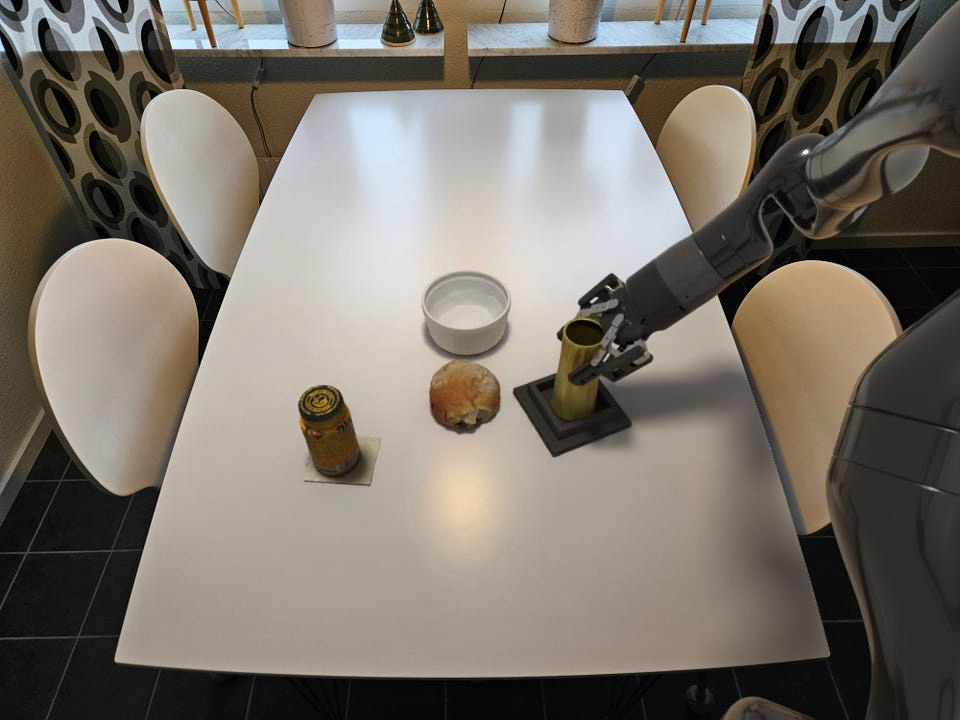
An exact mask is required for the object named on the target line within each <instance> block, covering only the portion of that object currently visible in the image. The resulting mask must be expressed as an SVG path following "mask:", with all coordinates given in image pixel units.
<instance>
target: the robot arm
mask: <svg viewBox="0 0 960 720" xmlns="http://www.w3.org/2000/svg"><path fill="white" fill-rule="evenodd" d="M930 148H932V149H934V150H937V151H938V152H940V153H943V154H944V155H947V156H948V157H952V158H956V159H960V0H958V1H956V2H955V3H954V4H953V5H952V6H951V7H950V8H948V10H946V12H945V13H944V14H943V15H942V16H941V17H940V18H938V20H937V21H936V22H935V23H934V24H933V25H932V26H931V28H930V29H929V30H928V31H927V32H925V34H924V36H923V37H922V38H921V39H920V40H919V41H918V42H917V43H916V45H915V46H914V47H913V48H912V49H911V50H910V52H909V53H908V54H907V55H906V56H905V57H904V58H903V60H901V62H900V63H899V64H898V65H897V67H895V69H894V70H893V71H892V72H891V74H890V75H889V76H888V77H887V79H886V80H885V81H884V82H883V83H882V85H881V86H880V87H879V88H878V89H877V91H876V92H875V93H874V95H873V96H872V97H871V98H870V99H869V100H868V102H867V103H866V104H865V106H864V107H863V108H862V109H861V110H860V111H859V112H858V113H857V114H856V115H855V116H854V117H853V118H851V119H850V120H849V121H847V122H846V123H844V124H843V125H841V126H840V127H839V128H837V129H836V130H834V131H833V132H832V133H830V134H829V135H827V136H824V135H822V134H820V133H815V132H812V133H811V132H809V133H804V134H800V135H797V136H794V137H793V138H791V139H789V140H788V141H786V142H784V144H782V145H781V146H780V147H779V148H778V149H777V150H776V152H774V154H773V155H772V156H771V157H770V159H769V160H768V161H767V162H766V164H765V165H764V166H763V167H762V169H761V170H760V171H759V172H758V173H757V175H756V176H755V177H754V178H753V180H752V181H751V182H750V183H749V184H748V185H747V186H746V188H745V189H744V190H743V191H742V192H741V193H740V195H738V197H736V198H735V200H733V201H732V202H731V203H730V204H729V205H728V206H727V207H725V208H724V209H723V210H721V211H720V212H719V213H718V214H717V215H715V216H713V218H711V219H710V220H709V221H707V222H705V223H704V224H703V225H702V226H700V227H698V229H696V230H695V231H693V233H691V234H689V235H688V236H686V237H684V238H681V240H678V241H677V242H676V243H674V244H671V246H669V247H668V248H667V249H665V250H664V251H662V252H661V253H660V254H657V256H656V257H654V258H653V259H652V260H650V261H649V262H647V263H646V264H645V265H643V266H642V267H641V268H639V269H638V270H637V271H635V272H634V273H632V274H631V275H630V276H628V277H627V278H626V280H625V282H624V281H623V280H622V279H620V277H618V276H617V275H616V274H615V273H613V272H611V273H609V274H608V275H606V276H605V277H604V278H602V279H601V280H600V281H599V282H598V283H597V284H595V286H593V287H592V288H591V289H590V290H588V291H587V292H586V293H584V294H583V295H582V296H581V297H580V298H579V299H578V301H577V305H578V307H579V310H578V312H577V313H576V316H575V317H574V318H573V319H575V318H590V319H593V320H596V321H598V322H599V323H600V324H602V325H603V327H604V334H605V336H604V337H603V339H602V340H601V342H600V344H599V346H600V349H599V350H598V351H597V353H596V354H595V356H594V357H593V359H592V360H591V361H590V360H588V361H586V362H585V363H584V364H582V365H581V366H579V367H578V368H576V369H575V370H573V371H572V372H570V373H569V374H568V375H567V377H568V381H569V382H571V383H572V384H574V385H575V386H584V385H586V384H587V383H589V382H590V381H592V380H593V379H595V378H596V377H598V376H599V377H600V376H602V377H604V378H605V379H607V380H608V381H609V382H611V383H614V384H615V383H617V382H619V381H620V380H623V379H624V378H626V377H628V376H630V375H631V374H633V373H634V372H636V371H639V370H640V369H642V368H644V367H646V366H647V365H649V364H651V363H652V362H653V361H654V355H653V354H652V353H650V352H649V350H648V346H647V343H646V342H647V341H648V340H649V338H650V337H651V336H652V335H653V334H654V333H656V332H661V331H663V332H664V331H666V330H667V329H669V328H671V327H672V326H674V325H675V324H677V323H678V322H680V321H681V320H683V319H684V318H686V317H688V316H689V315H691V314H692V313H693V312H695V311H697V310H698V309H699V308H701V307H702V306H704V305H705V304H708V302H710V301H711V300H713V299H715V298H716V297H717V296H718V295H719V294H720V293H721V292H722V291H724V290H725V289H726V288H727V287H728V286H730V285H731V284H732V283H735V282H736V281H737V280H738V279H740V278H742V277H743V276H745V275H746V274H748V273H749V272H750V271H752V270H753V269H755V268H757V267H758V266H760V265H761V264H763V263H764V262H766V261H767V260H768V259H770V257H771V256H772V254H773V253H774V244H773V240H772V237H771V236H770V234H769V232H768V229H767V227H766V225H765V223H764V219H763V207H764V205H765V204H766V202H767V201H768V200H769V199H770V198H772V199H773V200H774V202H775V203H776V204H777V205H778V206H779V208H780V209H781V211H782V212H783V213H784V215H785V216H786V217H787V218H788V220H789V221H790V222H791V224H792V225H793V226H794V228H795V229H796V230H797V231H798V232H799V233H800V234H801V235H803V236H804V237H807V238H809V239H813V240H822V239H828V238H831V237H834V236H836V235H838V234H839V233H841V232H843V231H844V230H846V229H847V228H848V227H850V226H851V225H852V224H854V223H855V222H856V221H857V220H858V218H860V216H861V215H862V214H863V213H864V212H865V211H866V210H867V208H868V207H869V205H870V204H873V203H875V202H878V201H881V200H883V199H886V198H888V197H890V196H893V195H895V194H896V193H898V192H900V191H901V190H903V189H904V188H906V187H907V186H908V185H910V184H911V183H912V182H913V181H914V180H915V179H916V177H918V175H919V174H920V172H921V171H922V170H923V168H924V166H925V164H926V162H927V160H928V158H929V153H930ZM594 299H595V300H594ZM593 300H594V301H593ZM565 325H566V324H564V325H562V326H561V328H559V330H558V331H557V332H556V338H557V340H559V342H561V343H562V338H563V329H564V326H565ZM613 344H614V345H616V346H618V347H616V348H615V347H613ZM847 404H848V405H849V406H846V409H845V413H844V417H843V419H842V422H841V426H840V428H839V432H838V435H837V439H836V442H835V444H834V448H833V451H832V455H831V458H830V461H829V465H828V468H827V471H826V476H825V477H826V478H825V498H826V499H825V500H826V505H827V511H828V514H829V519H830V523H831V526H832V529H833V533H834V536H835V539H836V543H837V546H838V549H839V551H840V555H841V558H842V560H843V564H844V566H845V568H846V572H847V574H848V578H849V580H850V583H851V586H852V589H853V591H854V592H853V593H854V595H855V597H856V601H857V603H858V605H859V610H860V613H861V616H862V619H863V623H864V628H865V632H866V637H867V642H868V647H869V654H870V660H871V680H870V681H871V684H870V693H869V700H868V701H869V702H868V707H867V710H866V716H865V718H864V720H960V287H958V289H956V290H955V291H954V292H952V293H951V294H950V295H949V296H948V297H946V298H945V299H944V300H942V301H941V302H940V303H939V304H937V305H936V306H934V307H933V308H932V309H931V310H929V311H928V312H927V313H926V314H924V315H922V316H921V317H920V318H919V319H918V320H917V321H915V322H914V323H913V324H912V325H910V326H909V327H908V328H906V329H905V330H904V331H902V332H901V334H899V335H898V336H897V337H896V338H895V339H893V340H892V341H891V342H890V343H889V344H887V346H885V347H884V348H883V349H882V350H881V351H880V352H878V354H877V355H876V356H875V357H873V359H872V360H871V361H870V362H869V363H868V364H867V366H865V368H864V369H863V371H862V372H861V374H859V376H858V377H857V380H856V382H855V384H854V386H853V389H852V391H851V394H850V397H849V400H848V402H847ZM719 720H817V718H814V717H811V716H810V715H809V716H808V715H806V714H803V713H801V712H798V711H796V710H794V709H791V708H789V707H787V706H784V705H781V704H780V703H776V702H774V701H771V700H770V699H769V700H768V699H766V698H763V697H759V696H746V697H743V698H740V699H738V700H737V701H735V702H734V703H732V704H731V705H730V707H729V708H728V709H727V710H726V711H725V712H724V714H723V715H722V716H721V718H720V719H719Z"/></svg>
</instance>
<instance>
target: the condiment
mask: <svg viewBox="0 0 960 720" xmlns="http://www.w3.org/2000/svg"><path fill="white" fill-rule="evenodd" d="M297 402H298V403H297V409H298V412H299V425H300V428H301V432H302V435H303V437H304V439H305V443H306V446H307V450H308V452H309V455H310V460H309V464H308V467H307V469H306V473H305V476H304V481H308V482H309V481H310V482H317V483H318V482H322V483H333V484H334V483H337V484H340V483H342V484H344V483H345V484H353V485H371V481H372V478H373V474H374V469H375V466H376V462H377V457H378V452H379V449H380V444H381V438H382V437H377V436H361V435H357V434H356V431H355V427H354V422H353V418H352V414H351V411H350V408H349V406H348V404H347V403H346V402H345V399H344V396H343V394H342V392H341V391H340V390H339V389H338V388H337V387H335V386H332V385H329V384H318V385H315V386H312V387H310V388H308V389H307V390H305V391H304V392H303V393H302V394H301V396H300V398H299V400H298V401H297Z"/></svg>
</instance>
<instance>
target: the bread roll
mask: <svg viewBox="0 0 960 720" xmlns="http://www.w3.org/2000/svg"><path fill="white" fill-rule="evenodd" d="M428 392H429V393H428V396H429V404H430V410H431V413H432V414H433V415H434V417H435V418H436V419H437V420H438V422H440V423H441V424H444V425H445V426H447V427H452V428H457V429H458V430H460V431H461V430H462V431H464V430H465V429H467V430H468V429H472V428H474V427H477V426H479V425H480V424H482V423H484V422H486V421H488V420H489V419H490V418H491V417H492V416H493V415H494V414H495V413H496V412H497V411H498V409H499V407H500V404H501V398H502V397H501V385H500V382H499V380H498V378H497V377H496V375H494V374H493V373H492V372H491V370H490V369H489V368H487V367H485V366H484V365H481V364H480V363H477V362H474V361H472V360H468V359H454V360H452V361H449V362H448V363H446V364H444V365H442V366H441V367H440V368H439V369H438V370H437V371H436V372H435V373H433V376H432V377H431V380H430V386H429V391H428Z"/></svg>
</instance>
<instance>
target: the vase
mask: <svg viewBox="0 0 960 720" xmlns="http://www.w3.org/2000/svg"><path fill="white" fill-rule="evenodd" d="M574 318H575V317H574ZM574 318H572V319H570V320H569V321H567V322H566V323H565V324H564V325H565V326H564V325H563V326H564V329H563V338H562V342H561V344H560V345H561V346H560V354H559V359H558V366H557V370H556V373H557V375H556V380H555V385H554V390H553V395H552V398H551V407H552V410H553V411H554V413H555V414H556V415H557V416H559V417H560V418H562V419H564V420H567V421H571V422H573V421H576V420H578V419H581V418H584V417H586V416H589V415H591V414H593V413H594V411H595V407H596V405H595V403H596V396H597V388H598V379H600V375H599V376H598V377H596V378H595V379H593V380H592V381H590V382H589V383H587V384H586V385H584V386H575V385H574V384H572V383H571V382H569V381H568V377H567V375H568V374H569V373H570V372H572V371H573V370H575V369H576V368H578V367H579V366H581V365H582V364H584V363H585V362H586V361H588V360H590V361H591V360H592V359H593V357H594V356H595V354H596V353H597V351H598V350H599V349H600V346H599V344H600V342H601V340H602V339H603V337H604V336H605V334H604V327H603V325H602V324H600V323H599V322H598V321H596V320H593V319H590V318H575V319H574Z"/></svg>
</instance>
